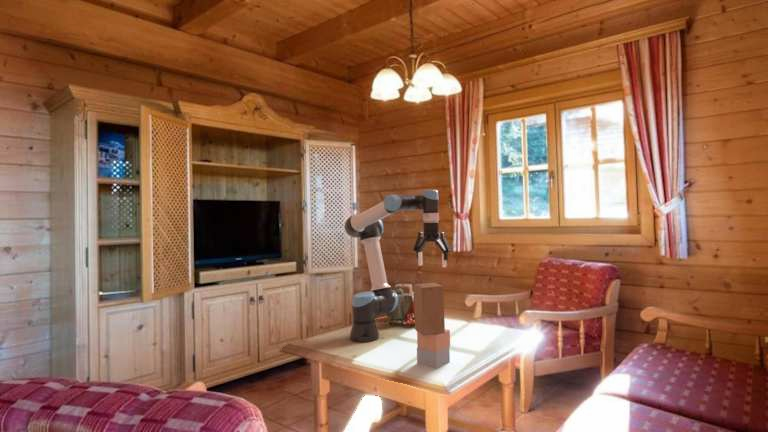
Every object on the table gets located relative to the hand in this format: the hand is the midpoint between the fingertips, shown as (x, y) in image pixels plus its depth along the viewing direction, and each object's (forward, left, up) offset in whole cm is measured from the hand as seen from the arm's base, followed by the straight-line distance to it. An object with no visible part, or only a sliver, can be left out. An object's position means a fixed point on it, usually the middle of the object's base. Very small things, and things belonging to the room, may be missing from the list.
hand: (432, 266), depth 214 cm
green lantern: (-48, +39, -39) cm, 73 cm away
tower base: (+12, -19, -39) cm, 45 cm away
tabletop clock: (-40, +25, -39) cm, 61 cm away
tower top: (+12, -19, -32) cm, 39 cm away
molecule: (-29, +35, -39) cm, 60 cm away
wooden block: (+12, -21, -25) cm, 35 cm away
